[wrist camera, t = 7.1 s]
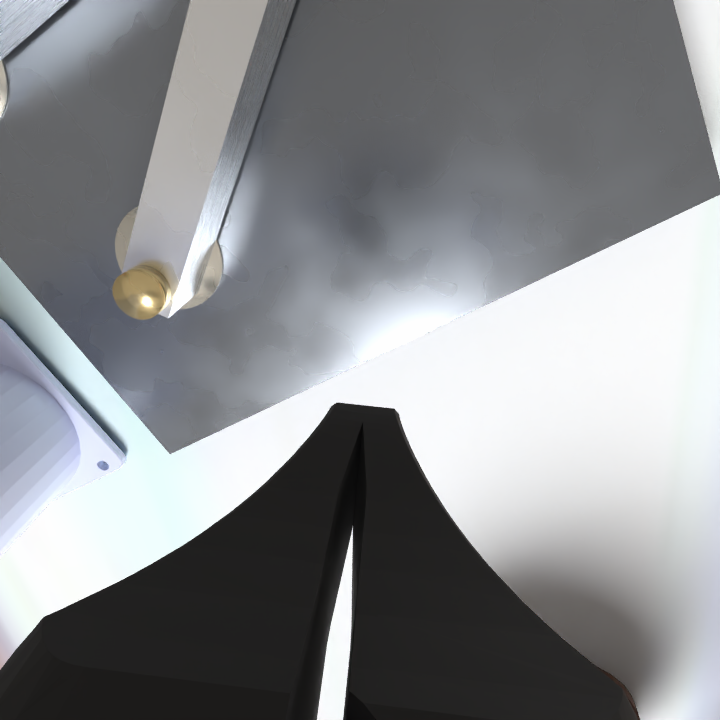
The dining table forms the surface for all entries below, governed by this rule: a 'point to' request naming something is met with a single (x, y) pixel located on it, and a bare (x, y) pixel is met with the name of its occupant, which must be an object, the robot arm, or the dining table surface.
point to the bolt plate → (339, 179)
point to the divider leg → (199, 149)
